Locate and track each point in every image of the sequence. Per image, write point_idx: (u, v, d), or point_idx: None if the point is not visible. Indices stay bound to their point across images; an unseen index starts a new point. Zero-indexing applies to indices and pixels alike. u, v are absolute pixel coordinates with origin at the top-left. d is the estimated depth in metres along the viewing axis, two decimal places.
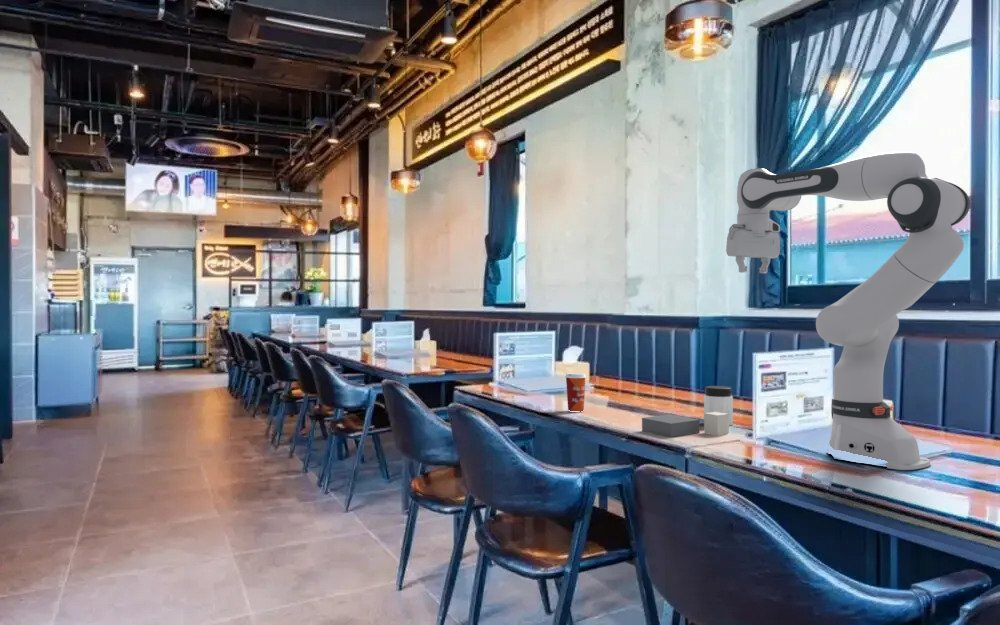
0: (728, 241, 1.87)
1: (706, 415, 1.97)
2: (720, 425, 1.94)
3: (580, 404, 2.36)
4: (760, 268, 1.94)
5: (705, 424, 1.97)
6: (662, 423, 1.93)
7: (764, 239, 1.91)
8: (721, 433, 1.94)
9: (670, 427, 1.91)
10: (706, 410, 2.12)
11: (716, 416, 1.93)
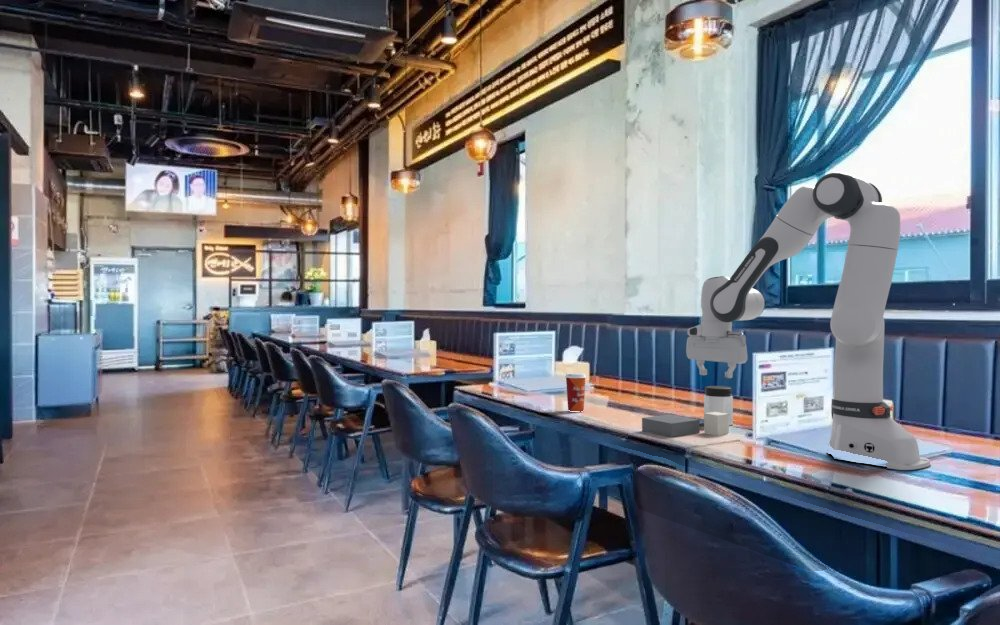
0: (741, 349, 1.88)
1: (706, 415, 1.97)
2: (720, 425, 1.94)
3: (580, 404, 2.36)
4: (704, 370, 2.00)
5: (705, 424, 1.97)
6: (662, 423, 1.93)
7: None
8: (721, 433, 1.94)
9: (670, 427, 1.91)
10: (706, 410, 2.12)
11: (716, 416, 1.93)
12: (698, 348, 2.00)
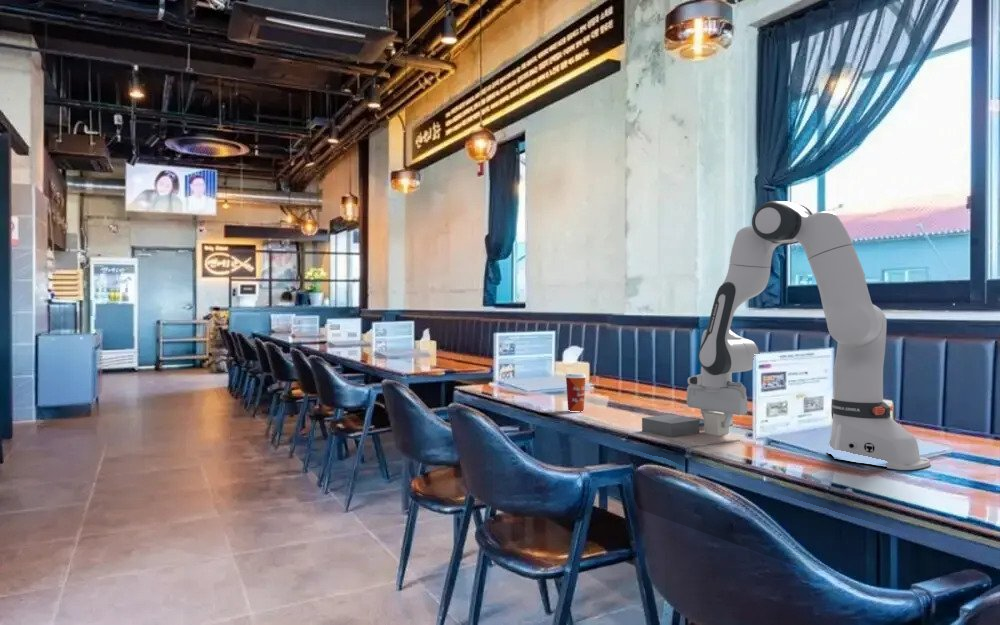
0: (741, 401, 1.88)
1: (706, 415, 1.97)
2: (720, 425, 1.94)
3: (580, 404, 2.36)
4: None
5: (705, 424, 1.97)
6: (662, 423, 1.93)
7: None
8: (721, 433, 1.94)
9: (670, 427, 1.91)
10: None
11: (716, 416, 1.93)
12: (698, 397, 2.00)
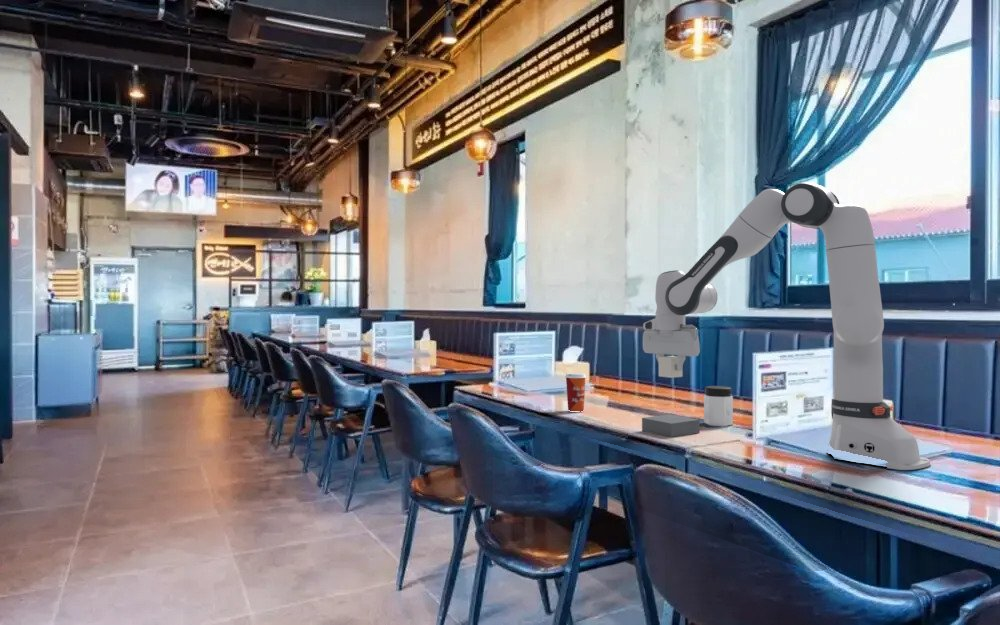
0: (693, 342, 1.90)
1: (660, 358, 1.99)
2: (673, 367, 1.96)
3: (580, 404, 2.36)
4: None
5: (659, 367, 1.99)
6: (662, 423, 1.93)
7: None
8: (674, 375, 1.96)
9: (670, 427, 1.91)
10: (706, 410, 2.12)
11: (669, 358, 1.96)
12: (653, 342, 2.02)
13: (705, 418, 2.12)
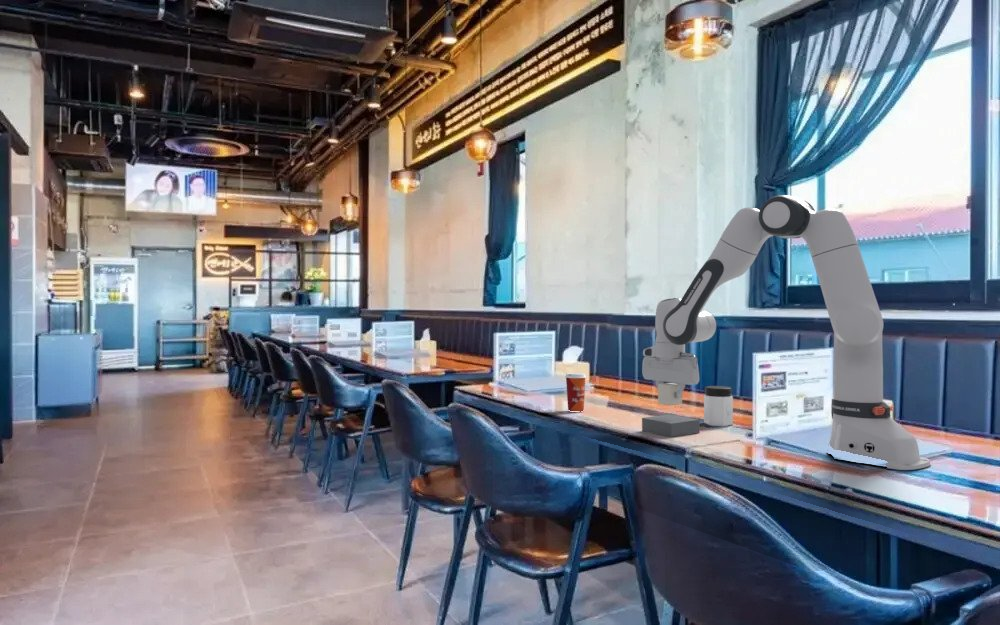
0: (693, 370, 1.90)
1: (660, 386, 1.99)
2: (673, 395, 1.96)
3: (580, 404, 2.36)
4: None
5: (659, 394, 1.99)
6: (662, 423, 1.93)
7: None
8: (674, 403, 1.96)
9: (670, 427, 1.91)
10: (706, 410, 2.12)
11: (669, 386, 1.96)
12: (653, 369, 2.02)
13: (705, 418, 2.12)
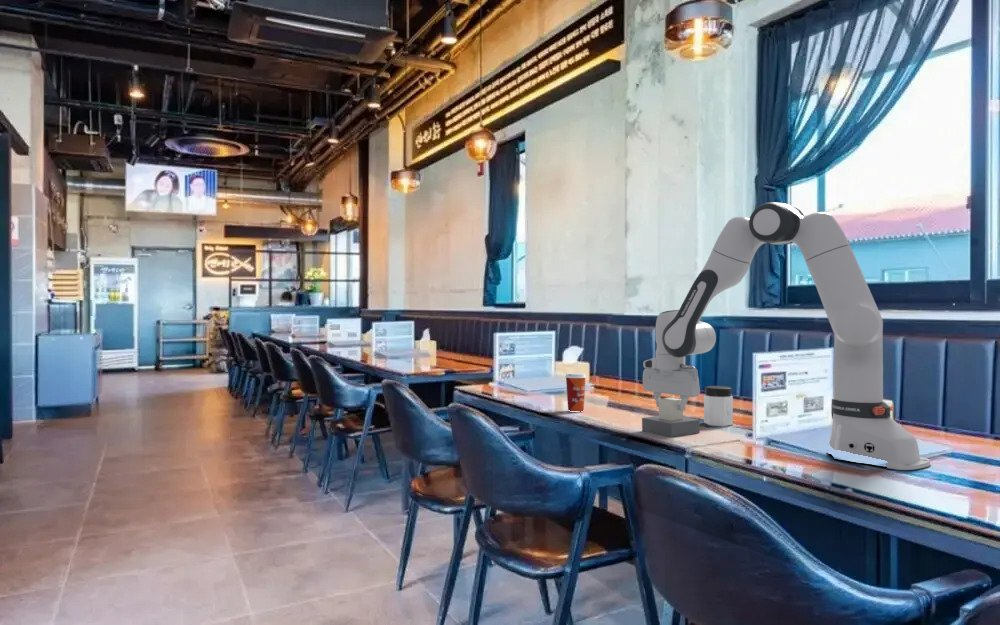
0: (693, 383, 1.90)
1: (660, 401, 1.99)
2: (673, 410, 1.96)
3: (580, 404, 2.36)
4: None
5: (660, 409, 1.99)
6: (662, 423, 1.93)
7: None
8: (675, 418, 1.96)
9: (670, 427, 1.91)
10: (706, 410, 2.12)
11: (670, 401, 1.96)
12: (653, 380, 2.02)
13: (705, 418, 2.12)
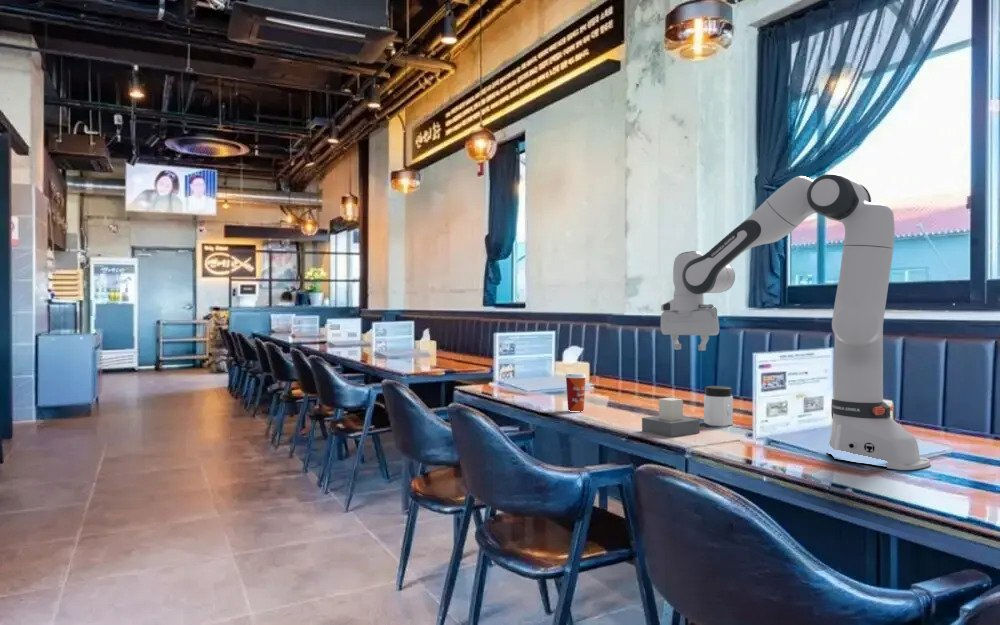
0: (713, 321, 1.91)
1: (660, 401, 1.99)
2: (673, 410, 1.96)
3: (580, 404, 2.36)
4: (678, 345, 2.03)
5: (660, 409, 1.99)
6: (662, 423, 1.93)
7: None
8: (675, 418, 1.96)
9: (670, 427, 1.91)
10: (706, 410, 2.12)
11: (670, 401, 1.96)
12: (671, 323, 2.03)
13: (705, 418, 2.12)
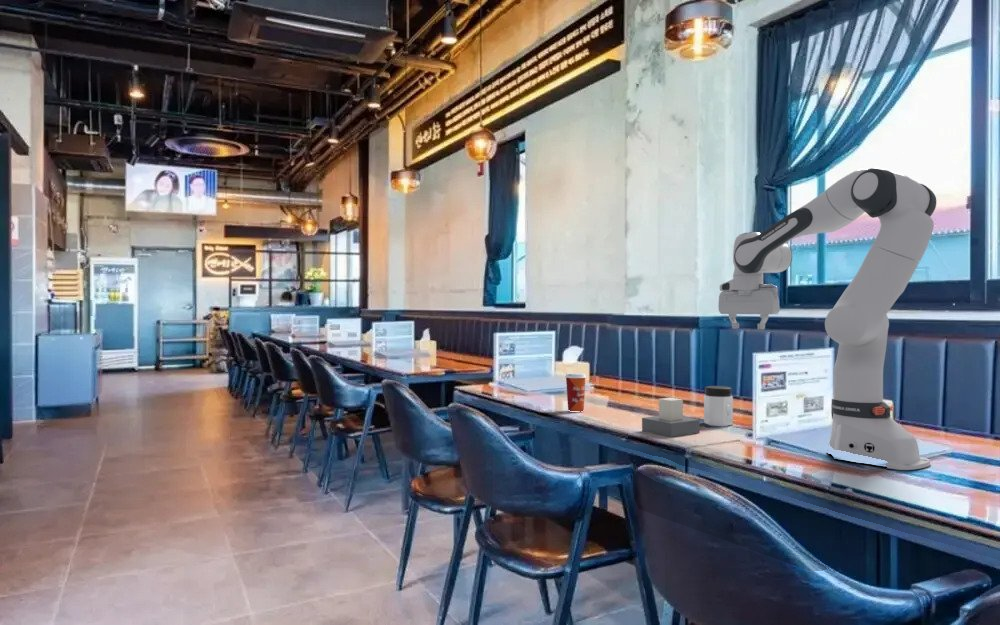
0: (773, 300, 1.95)
1: (660, 401, 1.99)
2: (673, 410, 1.96)
3: (580, 404, 2.36)
4: (736, 324, 2.07)
5: (660, 409, 1.99)
6: (662, 423, 1.93)
7: None
8: (675, 418, 1.96)
9: (670, 427, 1.91)
10: (706, 410, 2.12)
11: (670, 401, 1.96)
12: (730, 303, 2.08)
13: (705, 418, 2.12)
